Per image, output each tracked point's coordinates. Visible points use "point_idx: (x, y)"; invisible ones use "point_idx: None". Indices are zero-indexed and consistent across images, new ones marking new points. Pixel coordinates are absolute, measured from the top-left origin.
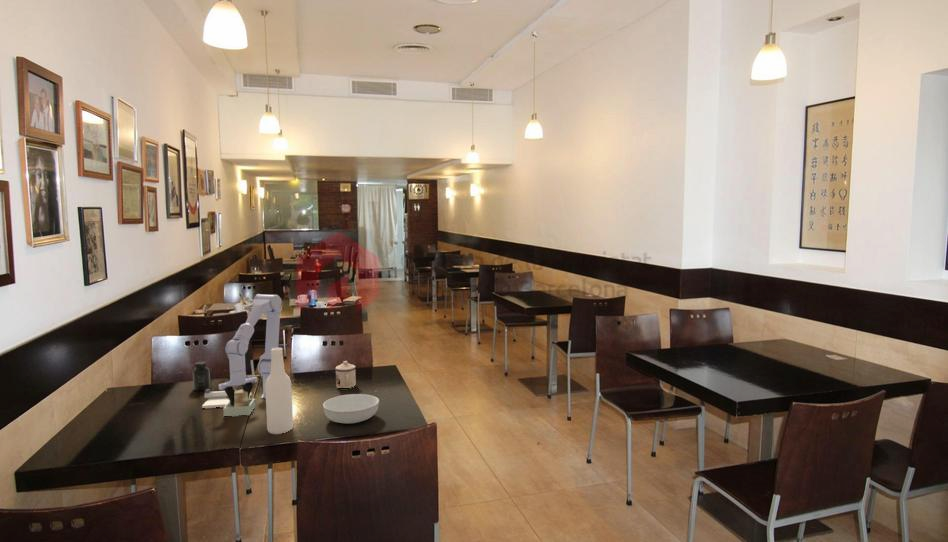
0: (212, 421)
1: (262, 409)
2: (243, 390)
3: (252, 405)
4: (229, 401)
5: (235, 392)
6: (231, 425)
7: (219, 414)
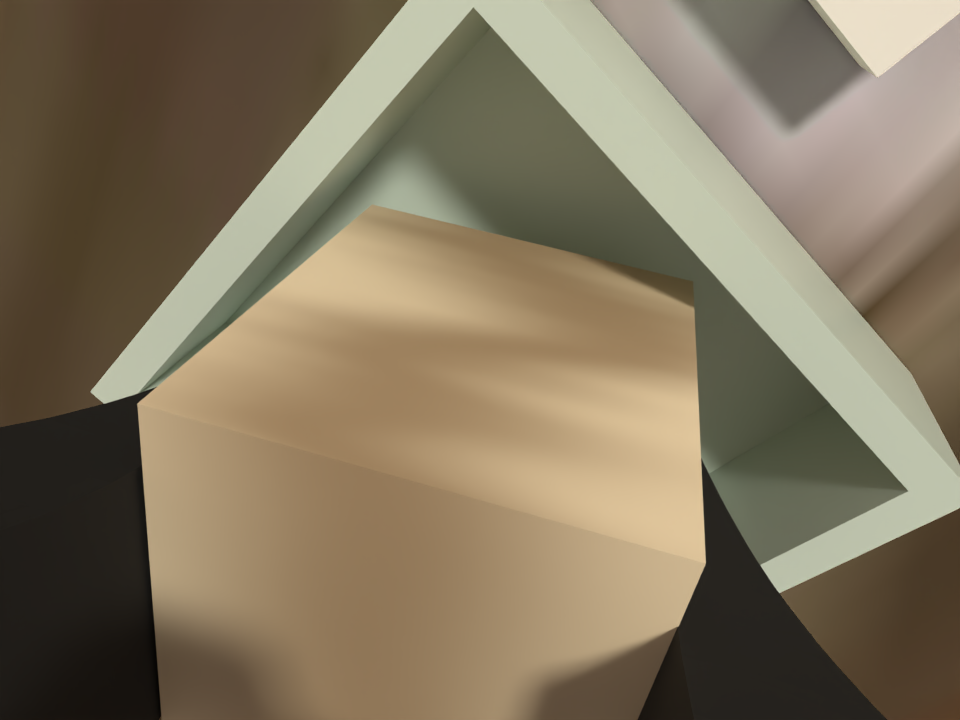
0: (12, 319)
1: (845, 585)
2: (619, 685)
3: None
4: (394, 63)
5: (284, 604)
6: None
7: (195, 102)
